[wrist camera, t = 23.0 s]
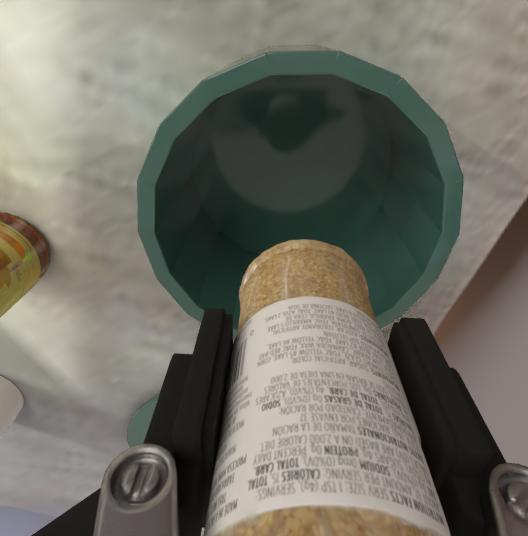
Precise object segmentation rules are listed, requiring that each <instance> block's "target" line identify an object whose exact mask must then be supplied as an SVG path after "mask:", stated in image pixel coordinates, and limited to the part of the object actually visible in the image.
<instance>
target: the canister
mask: <svg viewBox="0 0 528 536" xmlns="http://www.w3.org/2000/svg"><path fill="white" fill-rule="evenodd" d="M462 193H463V174H462V171H461V168H460V165H459V162H458V160H457V157H456V154H455V151H454V148H453V145H452V142H451V139H450V136H449V133H448V130H447V127H446V125H445V124H444V121H443V120H442V119H441V118H440V117H439V116H438V115H437V114H436V113H435V111H434V110H433V109H432V108H431V107H430V106H429V105H428V104H427V103H426V102H425V101H424V100H423V99H422V98H421V97H420V96H419V94H418V93H417V92H416V91H415V90H414V89H413V88H412V87H411V86H410V85H409V84H408V83H407V82H406V81H405V80H404V78H402V77H400V76H399V75H397V74H394V73H392V72H390V71H387V70H385V69H382V68H380V67H377V66H375V65H373V64H370V63H368V62H365V61H363V60H361V59H358V58H356V57H353V56H351V55H348V54H346V53H344V52H341V51H338V50H334V49H330V48H326V47H321V46H317V45H294V46H271V47H267V48H265V49H263V50H260V51H258V52H256V53H254V54H251V55H249V56H247V57H244V58H242V59H240V60H238V61H235V62H233V63H231V64H229V65H227V66H226V67H224V68H222V69H220V70H219V71H217V72H215V73H214V74H212V75H210V76H208V77H207V78H205V79H203V80H202V81H201V82H200V83H199V84H198V85H197V86H196V87H195V88H194V89H193V90H192V91H191V92H190V93H189V94H188V95H187V97H186V98H185V99H184V100H183V101H182V102H181V103H180V104H179V105H178V106H177V107H176V108H175V109H174V110H173V111H172V112H171V113H170V114H169V115H168V116H167V117H166V118H165V119H164V120H163V121H162V122H161V123H160V125H159V127H158V128H157V131H156V133H155V136H154V138H153V141H152V144H151V146H150V149H149V151H148V154H147V156H146V159H145V161H144V164H143V167H142V169H141V172H140V174H139V177H138V180H137V198H138V233H139V236H140V238H141V241H142V243H143V246H144V248H145V251H146V253H147V256H148V258H149V261H150V263H151V266H152V268H153V271H154V273H155V276H156V277H157V280H158V281H159V282H160V283H161V284H162V285H163V286H164V288H165V289H166V290H167V291H168V292H169V293H170V295H171V296H172V297H173V298H174V299H175V300H176V301H177V303H178V304H179V305H180V306H181V307H182V308H183V310H184V311H185V312H186V313H187V314H189V315H190V316H192V317H193V318H195V319H197V320H198V321H200V322H202V318H203V314H204V311H205V308H222V309H225V310H226V314H232V315H233V340H235V338H236V336H237V334H238V326H239V318H240V311H241V308H240V299H239V290H240V286H241V283H242V279H243V276H244V274H245V273H246V271H247V268H248V267H249V265H250V264H251V263H252V262H253V261H254V260H255V259H256V258H257V257H258V256H260V255H261V253H263V252H264V251H266V250H268V249H270V248H272V247H274V246H275V245H277V244H280V243H283V242H287V241H289V240H301V239H308V240H317V241H322V242H325V243H328V244H330V245H333V246H337V247H339V248H341V249H343V250H344V251H345V252H346V253H347V254H348V255H349V256H351V257H352V258H353V260H354V261H355V262H356V263H357V264H358V265H359V266H360V268H361V270H362V272H363V274H364V275H365V278H366V282H367V286H368V291H369V295H368V298H369V300H370V304H371V306H372V309H373V313H374V316H375V319H376V321H377V323H378V326H379V328H381V327H383V326H385V325H387V324H388V323H390V322H392V321H394V320H395V319H397V318H399V317H401V316H402V314H404V313H405V312H406V311H407V310H408V309H409V308H410V307H411V306H412V305H413V304H414V303H415V302H416V301H417V300H418V299H419V298H420V297H421V296H422V295H423V294H424V292H425V291H426V290H427V289H428V288H429V287H430V286H431V285H432V284H433V283H434V282H435V281H436V279H438V277H439V275H440V273H441V271H442V269H443V267H444V265H445V263H446V261H447V258H448V256H449V254H450V252H451V250H452V248H453V246H454V244H455V242H456V240H457V238H458V235H459V230H460V218H461V205H462Z"/></svg>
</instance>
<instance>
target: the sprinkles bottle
mask: <svg viewBox="0 0 528 536" xmlns="http://www.w3.org/2000/svg"><path fill="white" fill-rule="evenodd" d="M368 295H369V291H368V286H367V282H366V278H365V275H364V274H363V272H362V270H361V268H360V266H359V265H358V264H357V263H356V262H355V261H354V260H353V258H352V257H351V256H349V255H348V254H347V253H346V252H345V251H344V250H343V249H341V248H339V247H337V246H333V245H330V244H328V243H325V242H322V241H317V240H308V239H301V240H289V241H287V242H283V243H280V244H277V245H275V246H274V247H272V248H270V249H268V250H266V251H264V252H263V253H261V255H260V256H258V257H257V258H256V259H255V260H254V261H253V262H252V263H251V264H250V265H249V267H248V268H247V271H246V273H245V274H244V276H243V279H242V283H241V286H240V290H239V299H240V308H241V311H240V318H239V326H238V334H237V336H236V338H235V340H234V343H233V347H232V353H231V360H230V366H229V373H228V379H227V386H226V392H225V399H224V406H223V413H222V420H221V427H220V434H219V441H218V448H217V454H216V461H215V467H214V474H213V478H212V485H211V491H210V498H209V504H208V511H207V518H206V524H205V531H204V536H451V534H450V531H449V527H448V524H447V521H446V518H445V515H444V512H443V509H442V506H441V503H440V500H439V497H438V494H437V492H436V489H435V486H434V483H433V480H432V477H431V474H430V471H429V468H428V465H427V462H426V459H425V456H424V453H423V451H422V448H421V438H420V434H419V432H418V429H417V426H416V423H415V420H414V417H413V414H412V412H411V409H410V406H409V403H408V400H407V397H406V395H405V392H404V389H403V386H402V383H401V381H400V378H399V375H398V372H397V369H396V366H395V364H394V361H393V358H392V355H391V352H390V350H389V347H388V344H387V341H386V339H385V336H384V334H383V333H382V331H381V329H380V328H379V326H378V323H377V321H376V319H375V316H374V313H373V309H372V306H371V304H370V300H369V298H368Z"/></svg>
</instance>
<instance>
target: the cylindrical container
mask: <svg viewBox="0 0 528 536" xmlns="http://www.w3.org/2000/svg"><path fill="white" fill-rule="evenodd" d="M23 404H24V400H23V396H22V394H21V392H20V391H19V389H18V388H17V387H16V386H15V385H14V384H13V383H12V382H10V381H9V380H8V379H6V378H4V377H2V376H1V375H0V440H1V438H2V437H3V435H4V434H5V432H6V431H7V430H8V428H9V427H10V425H11V424H12V422H13V421H14V419H15V418H16V417H17V415H18V414H19V412H20V411H21V409H22V407H23Z"/></svg>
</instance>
